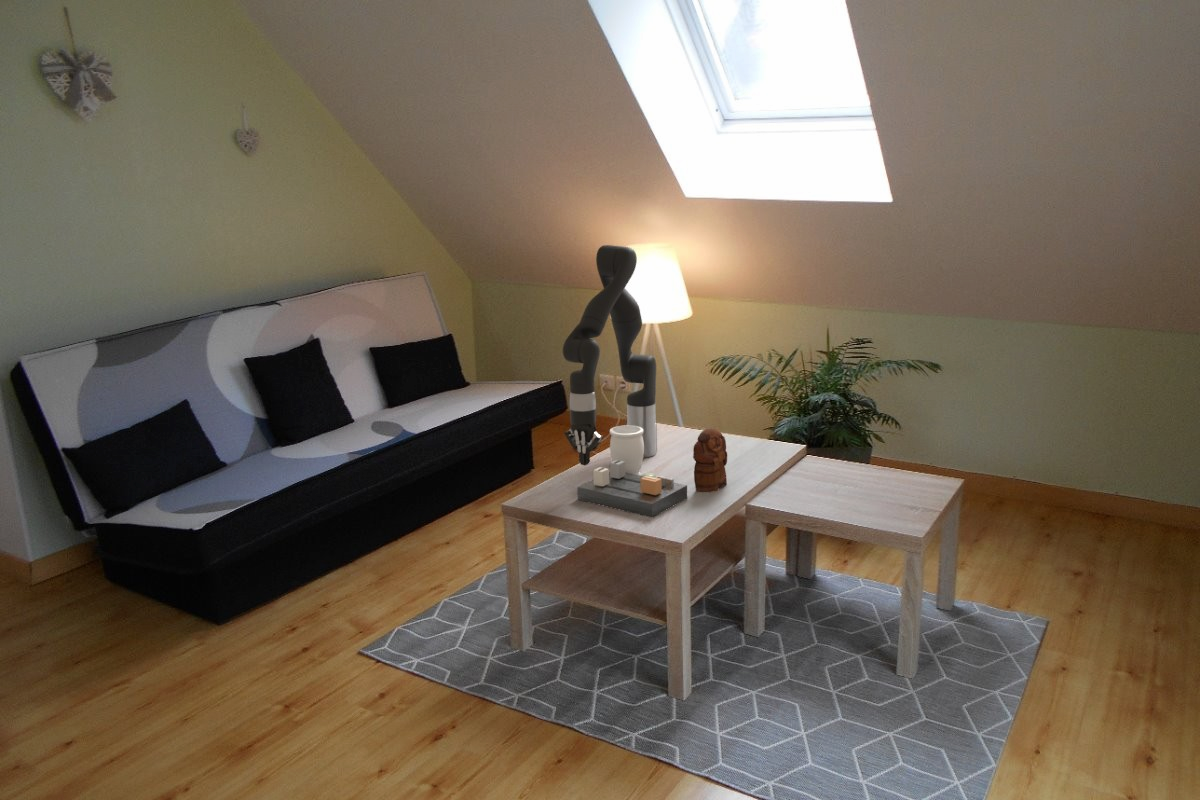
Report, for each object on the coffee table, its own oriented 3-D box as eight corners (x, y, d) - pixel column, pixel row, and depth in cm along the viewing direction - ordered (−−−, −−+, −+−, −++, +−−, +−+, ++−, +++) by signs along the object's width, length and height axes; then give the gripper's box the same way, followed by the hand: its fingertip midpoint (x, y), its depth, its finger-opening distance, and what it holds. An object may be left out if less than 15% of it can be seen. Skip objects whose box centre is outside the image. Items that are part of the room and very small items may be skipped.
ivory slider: (600, 481, 293) (599, 466, 292) (609, 483, 291) (608, 468, 290) (593, 484, 290) (593, 469, 289) (602, 486, 288) (602, 471, 287)
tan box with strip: (646, 489, 285) (646, 475, 284) (661, 492, 282) (661, 478, 281) (640, 492, 283) (640, 477, 282) (655, 495, 280) (655, 481, 279)
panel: (614, 482, 305) (613, 462, 303) (687, 498, 289) (687, 477, 288) (577, 499, 291) (577, 478, 289) (652, 517, 276) (651, 495, 274)
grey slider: (616, 473, 299) (616, 459, 298) (625, 475, 297) (624, 461, 296) (610, 476, 296) (609, 462, 295) (618, 478, 295) (618, 463, 293)
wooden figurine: (709, 495, 292) (709, 435, 287) (691, 490, 296) (691, 432, 291) (731, 483, 301) (731, 426, 296) (713, 479, 304) (713, 422, 300)
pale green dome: (647, 478, 294) (647, 472, 294) (658, 481, 292) (658, 474, 291) (639, 482, 291) (639, 475, 291) (650, 484, 289) (650, 478, 288)
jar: (641, 482, 304) (640, 435, 300) (607, 481, 306) (606, 433, 302) (646, 471, 314) (646, 425, 310) (614, 470, 316) (613, 424, 312)
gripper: (609, 407, 288) (610, 464, 292) (572, 401, 295) (574, 457, 299) (593, 412, 282) (595, 471, 286) (556, 406, 289) (558, 464, 294)
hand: (584, 464), depth 293 cm, fingers closed
